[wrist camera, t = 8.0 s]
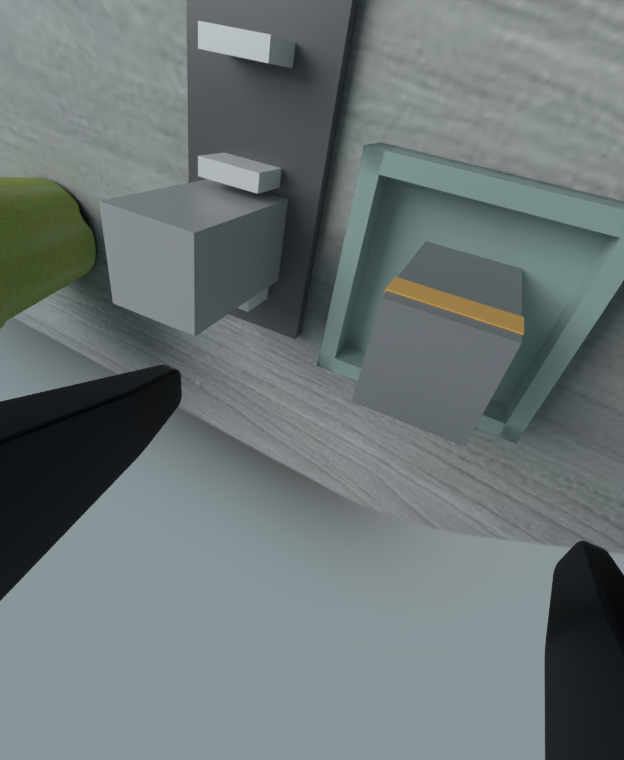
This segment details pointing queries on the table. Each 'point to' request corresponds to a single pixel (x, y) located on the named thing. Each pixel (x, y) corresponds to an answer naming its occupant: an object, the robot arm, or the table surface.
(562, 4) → the table surface
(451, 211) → the tray
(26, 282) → the plant pot
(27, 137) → the table surface
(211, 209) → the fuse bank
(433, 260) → the block
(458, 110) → the table surface
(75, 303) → the table surface
